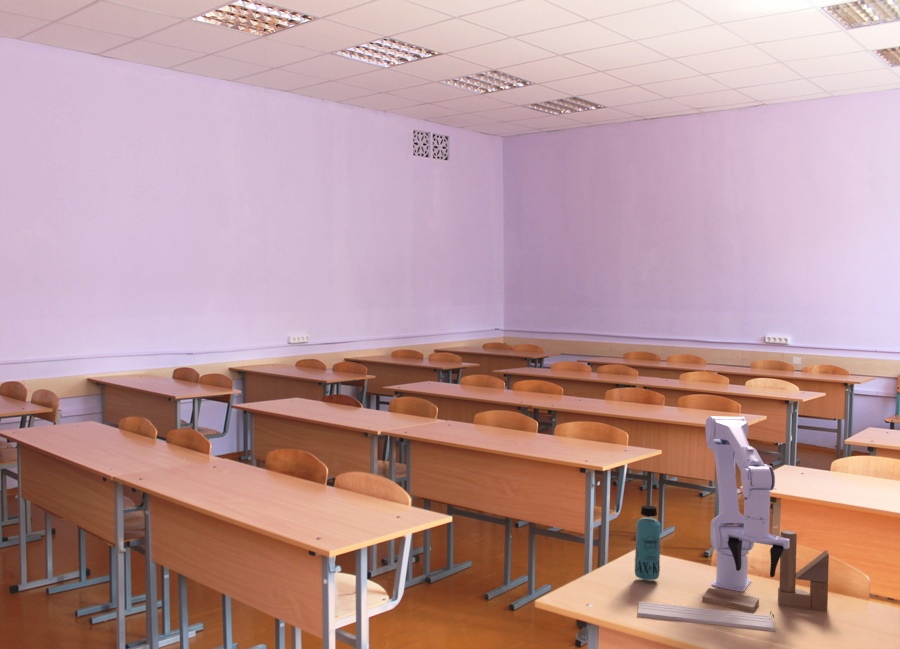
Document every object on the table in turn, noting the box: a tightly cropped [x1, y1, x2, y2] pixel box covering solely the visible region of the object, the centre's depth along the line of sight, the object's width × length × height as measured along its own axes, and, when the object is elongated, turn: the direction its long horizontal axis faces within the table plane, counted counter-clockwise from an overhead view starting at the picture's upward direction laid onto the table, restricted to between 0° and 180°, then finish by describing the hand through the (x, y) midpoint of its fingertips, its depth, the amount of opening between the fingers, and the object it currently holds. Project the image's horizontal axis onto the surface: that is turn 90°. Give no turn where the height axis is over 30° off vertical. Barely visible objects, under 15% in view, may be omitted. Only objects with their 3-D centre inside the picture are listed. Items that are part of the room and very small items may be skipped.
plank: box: [702, 587, 760, 613], centre depth 191 cm, size 6×12×2 cm, turn 57°
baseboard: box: [637, 601, 777, 632], centre depth 183 cm, size 30×3×10 cm
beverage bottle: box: [634, 504, 662, 581], centre depth 205 cm, size 6×7×20 cm
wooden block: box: [777, 529, 830, 613], centre depth 189 cm, size 4×11×18 cm, turn 71°
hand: (755, 572), depth 186 cm, fingers open, 7 cm apart
